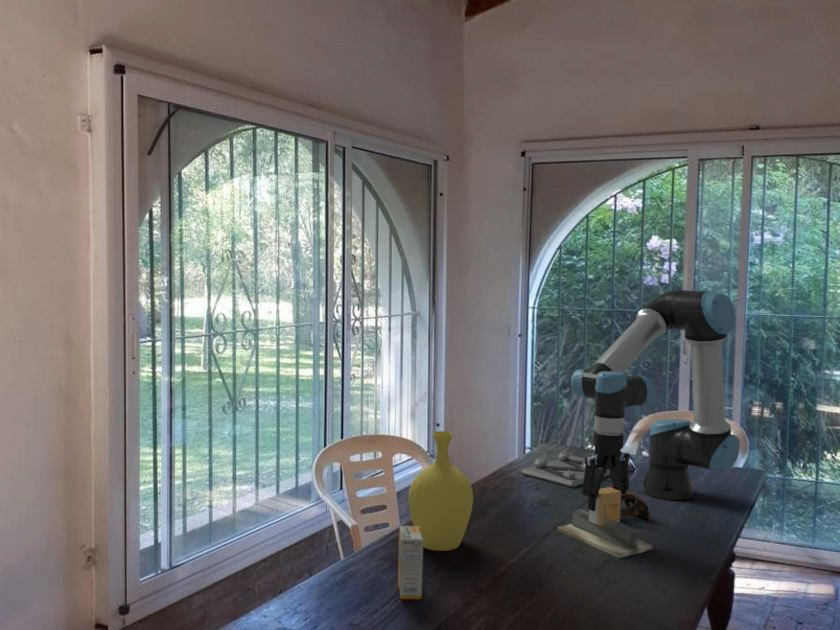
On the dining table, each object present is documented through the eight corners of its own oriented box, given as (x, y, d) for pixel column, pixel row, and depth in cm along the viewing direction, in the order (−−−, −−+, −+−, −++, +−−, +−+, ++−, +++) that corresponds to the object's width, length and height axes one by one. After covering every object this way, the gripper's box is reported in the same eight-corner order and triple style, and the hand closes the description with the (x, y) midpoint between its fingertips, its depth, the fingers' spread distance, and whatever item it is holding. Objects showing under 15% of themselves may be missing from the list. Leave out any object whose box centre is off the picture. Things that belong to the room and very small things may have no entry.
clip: (608, 517, 211) (609, 487, 211) (619, 521, 208) (621, 491, 207) (588, 521, 208) (590, 490, 207) (600, 525, 204) (601, 494, 204)
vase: (478, 537, 207) (482, 430, 205) (461, 559, 192) (465, 443, 190) (419, 529, 212) (422, 424, 210) (398, 549, 197) (401, 436, 195)
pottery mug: (656, 527, 221) (645, 503, 219) (624, 539, 223) (612, 515, 221) (647, 503, 233) (636, 480, 230) (616, 514, 234) (605, 492, 232)
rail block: (589, 523, 221) (590, 505, 220) (652, 549, 202) (653, 530, 202) (557, 530, 214) (557, 512, 214) (618, 558, 196) (619, 538, 195)
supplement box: (396, 583, 177) (398, 525, 176) (418, 583, 177) (420, 525, 176) (399, 599, 168) (400, 538, 167) (422, 599, 169) (423, 538, 168)
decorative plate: (570, 461, 291) (571, 441, 290) (623, 474, 276) (624, 453, 275) (519, 475, 269) (520, 454, 269) (573, 490, 254) (574, 468, 254)
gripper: (625, 426, 215) (620, 510, 216) (569, 432, 204) (565, 521, 206) (646, 431, 208) (642, 518, 210) (590, 439, 198) (586, 530, 199)
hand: (604, 520), depth 208 cm, fingers closed on clip, 7 cm apart
